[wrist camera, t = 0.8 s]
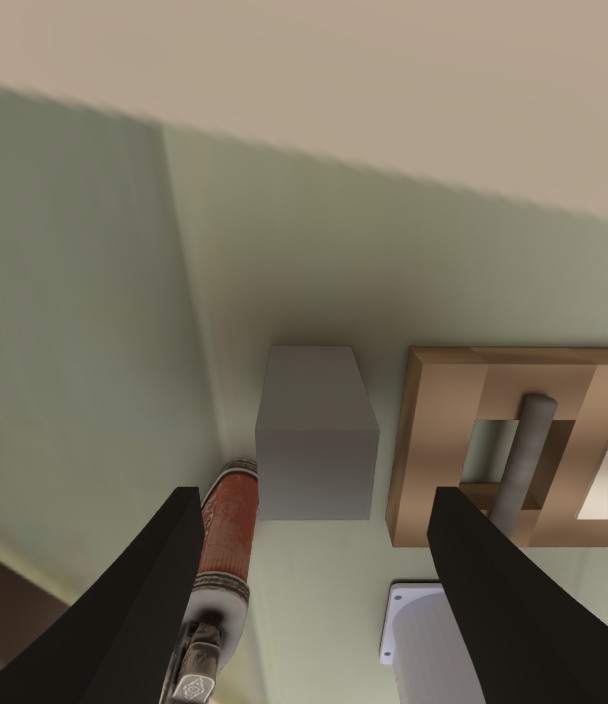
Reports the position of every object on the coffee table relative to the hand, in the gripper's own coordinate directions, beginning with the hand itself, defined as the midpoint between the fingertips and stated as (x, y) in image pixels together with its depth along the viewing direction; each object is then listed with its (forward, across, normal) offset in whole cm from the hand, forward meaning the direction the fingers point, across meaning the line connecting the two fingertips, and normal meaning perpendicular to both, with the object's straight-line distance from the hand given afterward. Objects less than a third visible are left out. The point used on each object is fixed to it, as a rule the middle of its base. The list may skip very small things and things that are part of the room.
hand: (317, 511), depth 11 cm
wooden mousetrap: (+8, -14, +4) cm, 17 cm away
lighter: (+9, +5, +9) cm, 13 cm away
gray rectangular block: (+8, 0, 0) cm, 8 cm away
